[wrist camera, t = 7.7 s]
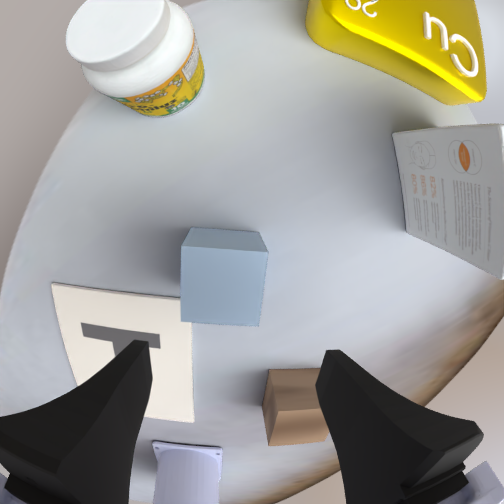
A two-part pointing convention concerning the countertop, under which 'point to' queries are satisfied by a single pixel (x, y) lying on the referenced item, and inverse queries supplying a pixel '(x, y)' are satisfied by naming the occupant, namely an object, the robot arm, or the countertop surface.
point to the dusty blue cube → (222, 277)
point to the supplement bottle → (138, 53)
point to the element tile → (408, 42)
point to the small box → (456, 190)
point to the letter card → (123, 333)
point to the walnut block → (293, 408)
